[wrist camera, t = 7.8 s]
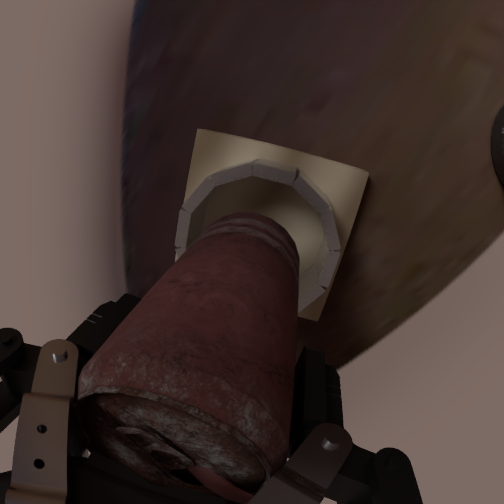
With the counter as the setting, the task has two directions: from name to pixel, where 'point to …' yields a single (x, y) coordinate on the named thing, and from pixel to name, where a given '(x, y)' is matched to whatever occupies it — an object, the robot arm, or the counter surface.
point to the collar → (196, 204)
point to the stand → (279, 194)
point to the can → (203, 366)
